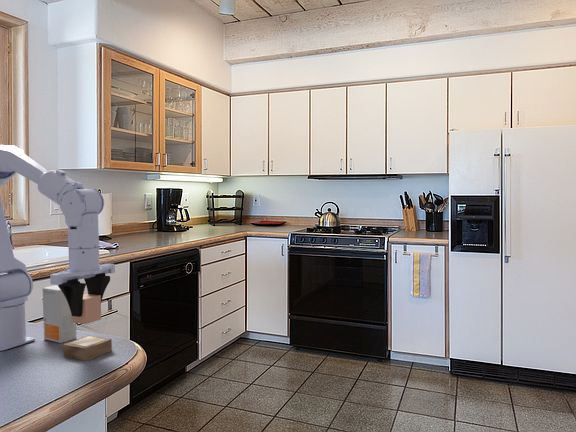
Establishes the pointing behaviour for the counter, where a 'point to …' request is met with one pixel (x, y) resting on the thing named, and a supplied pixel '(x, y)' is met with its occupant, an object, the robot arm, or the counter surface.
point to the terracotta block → (89, 309)
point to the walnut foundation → (87, 347)
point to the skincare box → (57, 316)
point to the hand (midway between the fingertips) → (85, 313)
